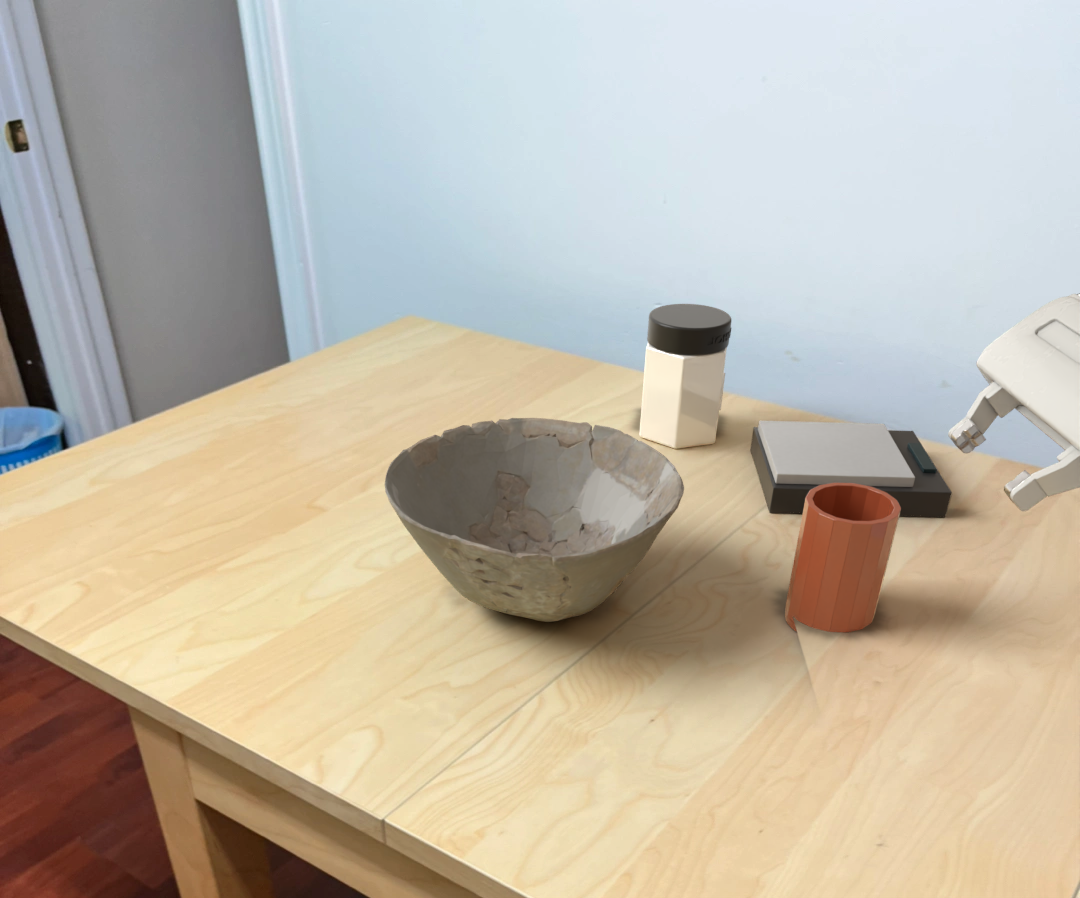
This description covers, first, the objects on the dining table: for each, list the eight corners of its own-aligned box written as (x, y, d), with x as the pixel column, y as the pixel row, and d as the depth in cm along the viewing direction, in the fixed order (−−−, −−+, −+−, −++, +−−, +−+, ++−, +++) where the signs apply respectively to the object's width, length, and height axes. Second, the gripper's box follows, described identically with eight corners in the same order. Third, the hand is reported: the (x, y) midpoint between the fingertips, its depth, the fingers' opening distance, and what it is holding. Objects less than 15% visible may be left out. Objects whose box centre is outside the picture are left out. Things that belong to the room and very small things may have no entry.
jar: (715, 453, 105) (730, 333, 98) (635, 446, 106) (644, 326, 99) (720, 419, 112) (734, 305, 105) (644, 413, 113) (653, 299, 106)
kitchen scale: (907, 454, 106) (915, 421, 104) (945, 517, 95) (955, 482, 93) (750, 450, 106) (754, 417, 104) (769, 513, 95) (775, 477, 93)
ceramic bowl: (458, 704, 72) (452, 579, 66) (357, 555, 88) (345, 442, 82) (729, 632, 79) (746, 513, 73) (590, 506, 96) (595, 400, 89)
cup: (861, 599, 83) (888, 483, 77) (879, 645, 78) (910, 525, 72) (778, 596, 84) (799, 481, 77) (791, 642, 78) (815, 522, 72)
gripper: (1068, 251, 74) (905, 387, 80) (1245, 342, 58) (1026, 506, 64) (1106, 314, 78) (946, 442, 83) (1284, 418, 61) (1072, 568, 67)
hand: (982, 471), depth 73 cm, fingers open, 8 cm apart
